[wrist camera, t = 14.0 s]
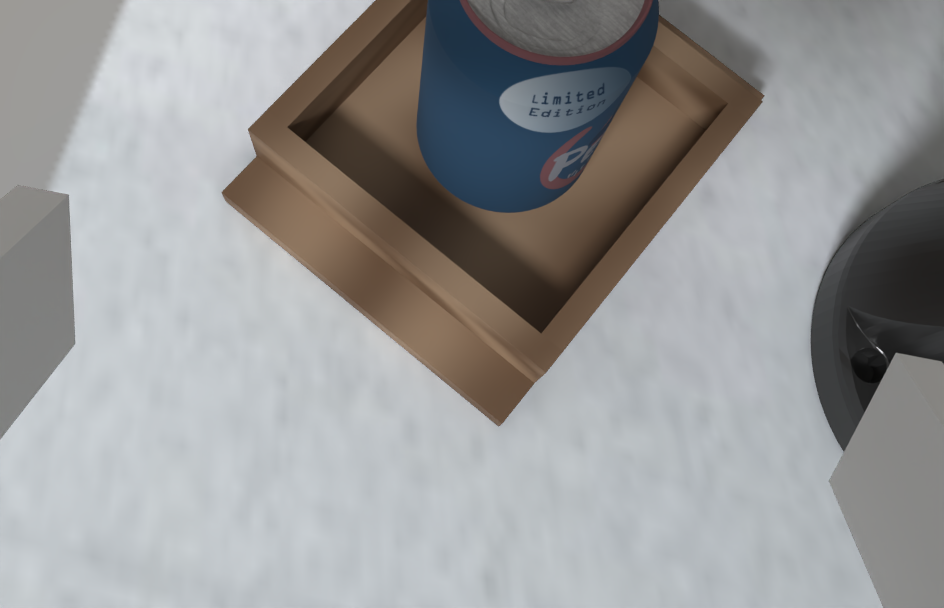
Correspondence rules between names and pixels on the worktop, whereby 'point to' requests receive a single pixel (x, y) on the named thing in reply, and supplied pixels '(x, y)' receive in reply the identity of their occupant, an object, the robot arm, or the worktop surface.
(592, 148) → the soda can
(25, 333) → the robot arm
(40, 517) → the worktop surface
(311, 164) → the wooden tray
